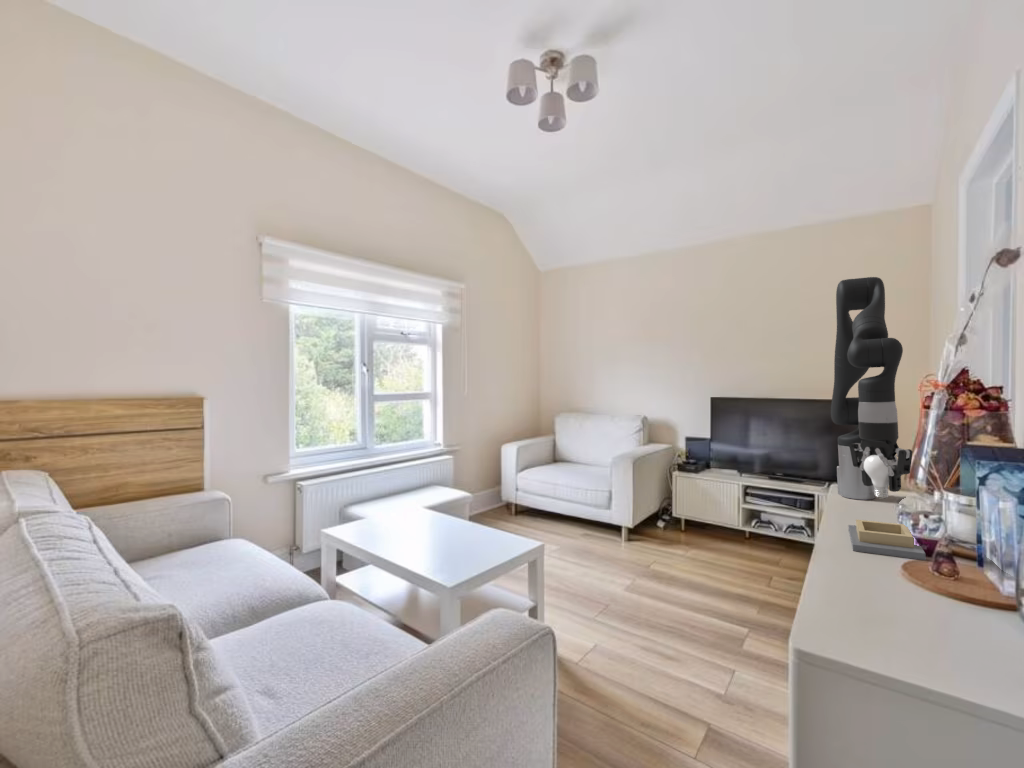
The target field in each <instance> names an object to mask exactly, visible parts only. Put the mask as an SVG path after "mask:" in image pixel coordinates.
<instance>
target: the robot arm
mask: <svg viewBox="0 0 1024 768" xmlns="http://www.w3.org/2000/svg"><path fill="white" fill-rule="evenodd" d="M835 298H836V299H835V301H836V302H835V303H836V334H835V335H836V336H835V338H836V339H835V346H834V347H835V348H834V363H833V364H834V367H833V368H834V374H833V375H834V377H833V378H834V379H833V381H834V382H833V390H832V396H831V397H832V398H831V402H830V403H831V406H830V417H831V418H830V419H831V421H832V422H833V423H834V424H835V425H838V426H839V425H840V426H858V427H857V428H856V429H854V430H853V431H851V432H848V433H845V434H842V435H839V436H837V449H838V452H837V453H838V454H837V455H838V465H837V466H836V478H837V480H836V481H837V494H838V495H840V496H842V497H843V498H847V499H852V500H862V501H863V500H867V501H868V500H873V499H875V497H876V496H875V494H874V493H875V492H874V490H875V489H874V485H873V483H872V480H871V478H870V477H869V475H868V474H867V473H866V472H865V470H864V461H865V459H866V458H867V457H869V456H870V455H878V456H879V458H880V459H881V460H882V462H883V463H884V465H885V466H886V467H888V473H889V475H890V476H889V486H888V491H890V492H894V493H896V492H900V490H901V489H902V476H904V475H910V473H911V467H912V460H913V451H912V449H910V448H909V449H907V448H906V449H905V448H901V447H899V444H898V442H897V441H898V440H899V420H898V419H899V418H898V417H899V416H898V409H897V403H896V390H895V389H896V388H895V387H896V378H897V372H898V368H899V366H900V362H901V361H902V360H901V359H902V357H903V351H904V348H903V345H902V342H900V340H898V339H897V338H896V337H889V330H888V328H887V323H886V320H885V319H886V316H885V315H886V313H885V312H886V292H885V283H884V280H883V279H882V278H880V277H877V276H868V277H867V276H866V277H858V278H847V279H842V280H840V281H839V282H838V284H837V286H836V292H835ZM860 310H861V311H860ZM850 311H859V313H857V314H856V316H855V317H854V318H853V319H852V317H851V314H850ZM870 368H871V369H872V368H883V370H882V372H881V373H879V374H877V375H875V376H869V377H864V376H865V374H866V373H867V372H868V371H869V369H870ZM863 377H864V378H863ZM856 383H857V384H858V385H857V391H858V393H857V394H858V396H857V397H855V396H854V397H848V394H849V392H850V390H852V387H854V385H856ZM892 459H893V461H894V462H888V460H892ZM893 465H894V466H895V470H894V469H893V467H892V466H893Z"/></svg>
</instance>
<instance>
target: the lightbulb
mask: <svg viewBox="0 0 1024 768" xmlns="http://www.w3.org/2000/svg"><path fill="white" fill-rule="evenodd" d="M888 462H894V461H893V459H892V460H888ZM892 467H893V469H894V470H895V466H894V465H893V466H892ZM864 470H865V472H866V473H867V474H868V475H869V477H870V478H871V480H872V483H873V485H874V492H875V493H874V494H875V497H876V498H878V499H887V498H888V497H889V476H890V475H889V473H888V467H886V466H885V465H884V463H883V462H882V460H881V459H880V458H879V456H878V455H870V456H869V457H867V458H866V459H865V461H864Z"/></svg>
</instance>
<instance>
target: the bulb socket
mask: <svg viewBox="0 0 1024 768" xmlns="http://www.w3.org/2000/svg"><path fill="white" fill-rule="evenodd" d="M904 524H905V523H895V522H885V521H875V520H866V519H865V520H864V519H855V525H852V524H848V525H847V528H848V533H849V534H848V535H849V537H850V543H851V547H852V551H853V552H859V553H865V554H866V553H867V554H875V555H883V556H891V557H898V558H899V557H900V558H907V559H913V560H914V559H915V560H921V561H927V560H926V556H927V555H926V552H925V550H924V549H923V547H922V546H917V545H914V538H913V536H912V534H911V532H910V529H909V527H908V526H907V527H906V526H905V525H904Z"/></svg>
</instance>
